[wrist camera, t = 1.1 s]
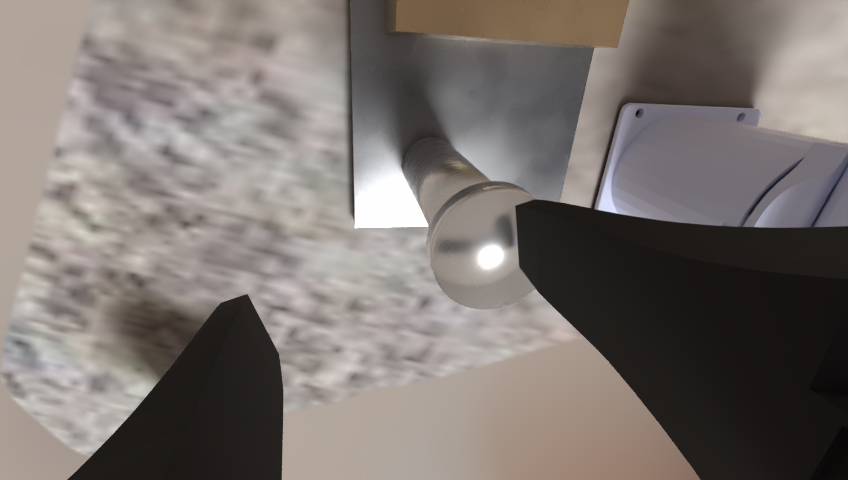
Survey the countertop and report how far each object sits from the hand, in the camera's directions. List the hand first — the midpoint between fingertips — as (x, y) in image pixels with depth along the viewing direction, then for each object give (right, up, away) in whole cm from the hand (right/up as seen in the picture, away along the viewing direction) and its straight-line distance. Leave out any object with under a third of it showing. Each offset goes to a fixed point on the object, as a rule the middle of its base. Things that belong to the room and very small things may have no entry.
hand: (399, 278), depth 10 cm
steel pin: (+1, +5, +10) cm, 11 cm away
